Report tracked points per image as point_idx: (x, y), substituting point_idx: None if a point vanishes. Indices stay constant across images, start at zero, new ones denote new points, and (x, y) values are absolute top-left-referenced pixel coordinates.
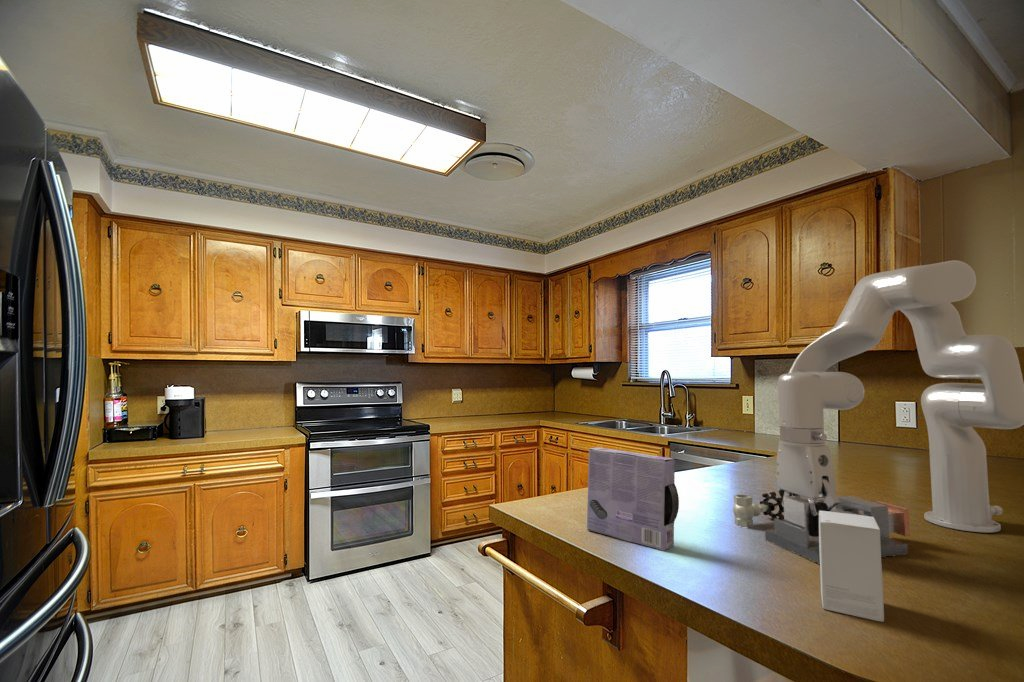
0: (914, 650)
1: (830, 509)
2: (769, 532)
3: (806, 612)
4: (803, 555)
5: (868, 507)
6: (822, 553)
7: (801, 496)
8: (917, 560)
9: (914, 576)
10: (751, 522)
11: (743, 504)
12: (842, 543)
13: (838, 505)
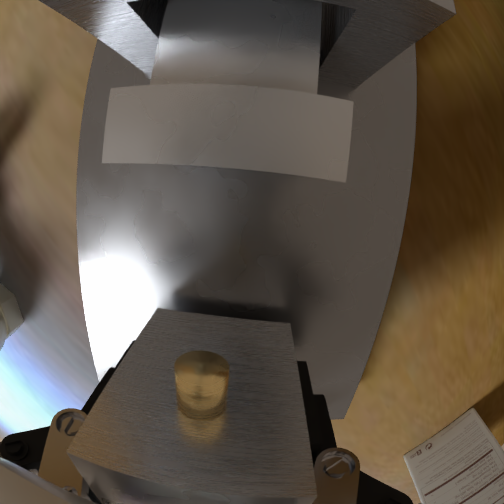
0: (499, 435)
1: (393, 493)
2: None
3: (410, 486)
4: None
5: (428, 5)
6: None
7: (117, 495)
8: (435, 54)
9: (496, 215)
10: (7, 309)
11: None
12: None
13: (96, 16)
